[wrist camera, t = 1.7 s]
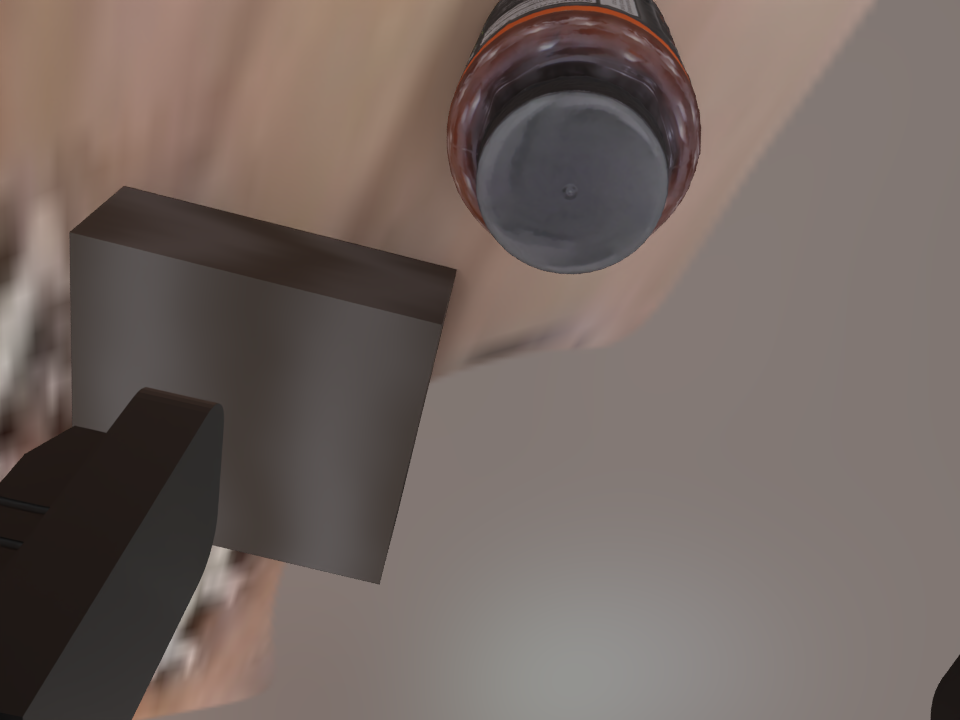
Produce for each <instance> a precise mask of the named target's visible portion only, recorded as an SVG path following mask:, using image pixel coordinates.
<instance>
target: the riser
mask: <svg viewBox="0 0 960 720" xmlns="http://www.w3.org/2000/svg"><path fill="white" fill-rule="evenodd" d="M455 275H456V270H455V269H451V268H447V267H443V266H439V265H435V264H431V263H427V262H423V261H419V260H416V259H412V258H408V257H404V256H400V255H396V254H392V253H388V252H384V251H380V250H376V249H372V248H368V247H364V246H360V245H356V244H352V243H348V242H344V241H340V240H336V239H332V238H328V237H324V236H320V235H316V234H312V233H308V232H304V231H300V230H296V229H292V228H288V227H284V226H280V225H276V224H272V223H268V222H264V221H260V220H256V219H252V218H248V217H244V216H240V215H236V214H233V213H229V212H225V211H221V210H217V209H213V208H209V207H205V206H201V205H197V204H193V203H189V202H185V201H181V200H177V199H173V198H169V197H165V196H161V195H157V194H153V193H149V192H145V191H141V190H137V189H133V188H129V187H125V186H123V187H122V188H121V189H120V190H119V191H118V192H116V193H115V194H114V195H113V196H112V197H110V198H109V199H108V200H107V201H106V202H105V203H103V204H102V205H101V206H100V207H99V208H98V209H96V210H95V211H94V212H93V213H92V214H90V215H89V216H88V217H87V218H86V219H85V220H83V221H82V222H81V223H80V224H79V225H77V226H76V227H75V228H74V229H73V230H72V231H70V299H71V365H72V427H73V426H79V427H83V428H88V429H92V430H97V431H101V432H106V433H107V431H108V430H109V429H110V427H111V426H112V425H113V423H114V422H115V421H116V419H117V418H118V417H119V415H120V414H121V413H122V411H123V410H124V409H125V407H126V406H127V405H128V403H129V402H130V401H131V399H132V398H133V397H134V396H135V394H136V393H137V392H138V391H139V390H141V389H142V388H144V387H149V388H153V389H158V390H162V391H167V392H171V393H176V394H180V395H184V396H189V397H193V398H198V399H202V400H207V401H211V402H215V403H220V404H221V405H222V407H223V411H224V431H223V445H222V460H221V474H220V488H219V503H218V516H217V525H216V531H215V536H214V540H213V544H212V545H214V546H219V547H223V548H227V549H231V550H236V551H240V552H244V553H248V554H252V555H257V556H261V557H265V558H269V559H274V560H278V561H282V562H286V563H291V564H295V565H299V566H303V567H308V568H312V569H316V570H320V571H324V572H329V573H333V574H338V575H341V576H346V577H350V578H354V579H358V580H363V581H367V582H371V583H376V584H380V580H381V576H382V572H383V568H384V565H385V561H386V557H387V553H388V549H389V545H390V541H391V537H392V533H393V529H394V526H395V521H396V518H397V514H398V510H399V506H400V501H401V497H402V493H403V489H404V485H405V481H406V477H407V472H408V468H409V464H410V459H411V456H412V452H413V448H414V444H415V440H416V435H417V431H418V427H419V423H420V418H421V414H422V410H423V407H424V402H425V398H426V394H427V390H428V386H429V382H430V378H431V374H432V369H433V365H434V361H435V357H436V353H437V349H438V345H439V341H440V336H441V332H442V328H443V324H444V320H445V316H446V312H447V308H448V303H449V299H450V295H451V291H452V287H453V283H454V279H455Z"/></svg>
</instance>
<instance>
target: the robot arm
mask: <svg viewBox="0 0 960 720" xmlns="http://www.w3.org/2000/svg"><path fill="white" fill-rule="evenodd" d="M223 431H224V411H223V407H222V405H221V404H220V403H215V402H211V401H207V400H202V399H198V398H193V397H189V396H184V395H180V394H176V393H171V392H167V391H162V390H158V389H153V388H149V387H144V388H142V389H141V390H139V391H138V392H137V393H136V394H135V396H134V397H133V398H132V399H131V401H130V402H129V403H128V405H127V406H126V407H125V409H124V410H123V411H122V413H121V414H120V415H119V417H118V418H117V419H116V421H115V422H114V423H113V425H112V426H111V427H110V429H109V430H108V431H107V433H106V432H101V431H97V430H92V429H88V428H83V427H79V426H73V427H72V428H70V429H68V430H66V431H65V432H63V433H61V434H59V435H58V436H56V437H54V438H52V439H50V440H49V441H47V442H45V443H43V444H42V445H40V446H38V447H36V448H35V449H33V450H31V451H29V452H28V453H26V454H24V455H23V457H22V458H21V459H20V460H19V461H18V463H17V464H16V465H15V466H14V467H13V468H12V470H11V471H10V472H9V473H8V474H7V475H6V477H5V478H4V479H3V480H2V481H1V482H0V720H132V718H133V716H134V714H135V712H136V710H137V708H138V706H139V704H140V702H141V700H142V698H143V696H144V694H145V691H146V689H147V687H148V685H149V683H150V681H151V679H152V677H153V675H154V673H155V671H156V669H157V667H158V665H159V663H160V661H161V659H162V657H163V655H164V653H165V651H166V649H167V647H168V645H169V643H170V641H171V639H172V636H173V634H174V632H175V630H176V628H177V626H178V624H179V622H180V620H181V618H182V616H183V614H184V612H185V610H186V608H187V606H188V604H189V602H190V600H191V598H192V596H193V594H194V592H195V590H196V588H197V586H198V584H199V581H200V579H201V577H202V575H203V572H204V570H205V567H206V564H207V561H208V558H209V555H210V551H211V548H212V544H213V540H214V536H215V531H216V525H217V516H218V503H219V488H220V474H221V460H222V445H223ZM931 720H960V655H959V657H958V658H957V659H956V660H955V662H954V663H953V665H952V666H951V667H950V669H949V670H948V671H947V673H946V674H945V675H944V677H943V678H942V680H941V681H940V683H939V685H938V687H937V689H936V691H935V694H934V697H933V702H932V707H931Z"/></svg>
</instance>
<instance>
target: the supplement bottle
mask: <svg viewBox="0 0 960 720" xmlns="http://www.w3.org/2000/svg"><path fill="white" fill-rule="evenodd" d="M700 144H701V125H700V112H699V109H698V106H697V101H696V95H695V93H694V91H693V88H692V85H691V81H690V78H689V75H688V74H687V72H686V70H685V68H684V65H683V63H682V62H681V59H680V56H679V54H678V51H677V49H676V47H675V44H674V41H673V38H672V36H671V34H670V31H669V28H668V26H667V24H666V23H665V20H664V17H663V16H662V14H661V12H660V10H659V9H658V7H657V5H656V4H655V3H654V2H653V1H652V0H500V1H499V3H498V4H497V5H496V6H495V8H494V10H493V11H492V13H491V14H490V16H489V17H488V19H487V21H486V23H485V25H484V27H483V29H482V32H481V34H480V36H479V38H478V41H477V43H476V45H475V47H474V49H473V51H472V54H471V56H470V58H469V61H468V63H467V65H466V67H465V70H464V72H463V74H462V77H461V79H460V82H459V84H458V86H457V88H456V92H455V95H454V97H453V100H452V103H451V107H450V112H449V116H448V124H447V153H448V159H449V165H450V170H451V174H452V177H453V179H454V182H455V185H456V188H457V190H458V193H459V194H460V196H461V198H462V200H463V201H464V203H465V205H466V206H467V208H468V209H469V210H470V212H471V213H472V215H473V216H474V217H475V218H476V219H477V221H478V222H479V223H480V224H481V225H482V226H483V227H484V228H485V229H486V230H487V231H488V232H489V233H491V234H492V235H493V237H494V238H495V239H496V240H497V242H498V243H499V244H500V245H501V246H502V247H503V248H504V249H505V250H506V251H507V252H508V253H510V254H511V255H512V256H514V257H516V258H517V259H518V260H520V261H522V262H524V263H526V264H528V265H529V266H532V267H535V268H537V269H540V270H543V271H547V272H554V273H559V274H581V273H588V272H593V271H596V270H601V269H604V268H606V267H608V266H611V265H613V264H615V263H618V262H620V261H621V260H623V259H624V258H626V257H627V256H629V255H630V254H632V253H633V252H635V251H636V250H637V249H638V248H639V247H640V246H641V245H642V244H643V243H644V242H645V241H646V239H647V238H648V237H649V236H650V235H651V234H653V233H654V232H655V231H656V230H657V229H658V228H659V227H660V226H661V225H662V224H663V223H664V222H665V221H666V220H667V219H668V218H669V217H670V215H671V214H672V213H673V212H674V211H675V209H676V207H677V206H678V205H679V204H680V202H681V201H682V199H683V198H684V196H685V194H686V192H687V191H688V189H689V186H690V183H691V181H692V178H693V176H694V173H695V171H696V166H697V163H698V158H699V155H700Z"/></svg>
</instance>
